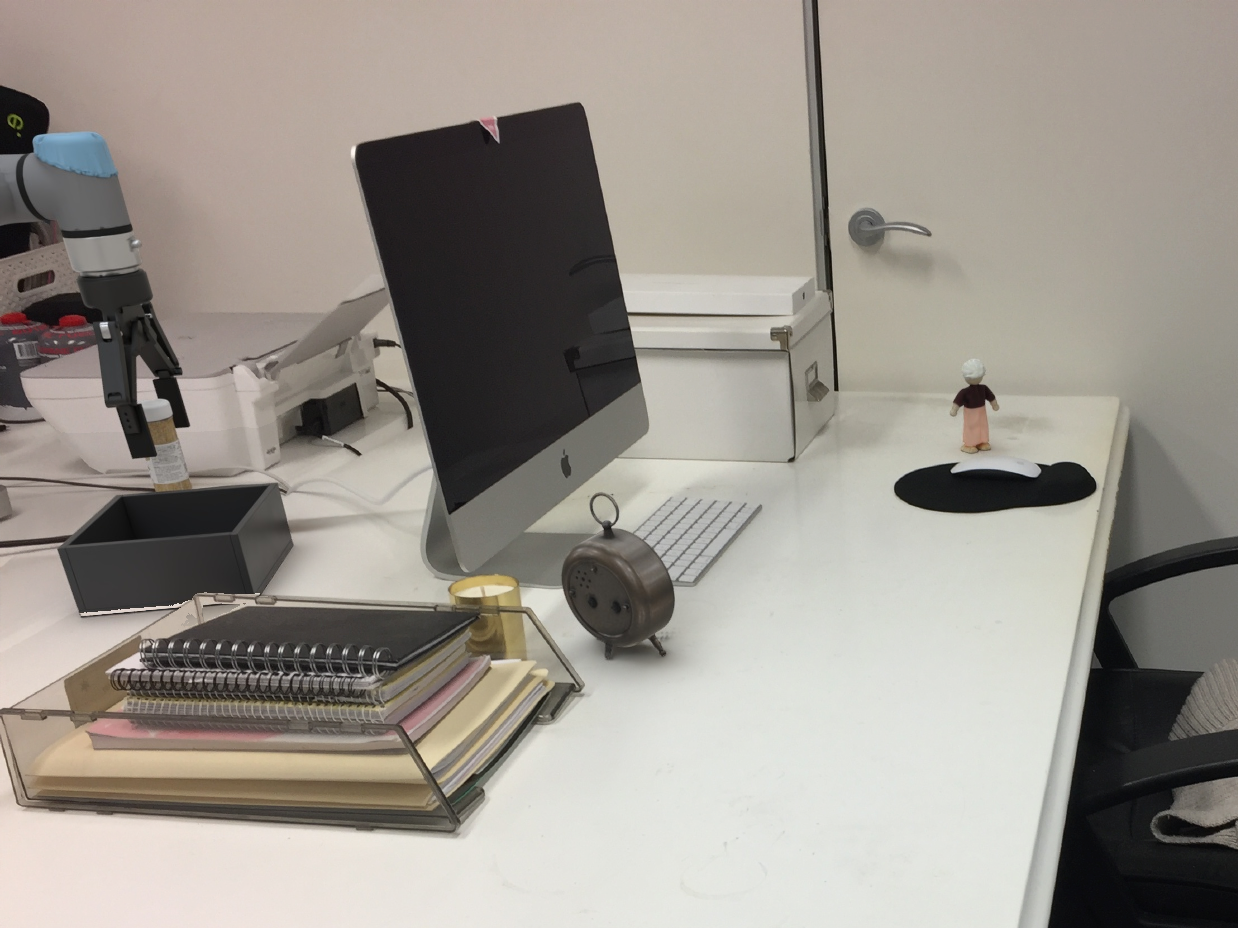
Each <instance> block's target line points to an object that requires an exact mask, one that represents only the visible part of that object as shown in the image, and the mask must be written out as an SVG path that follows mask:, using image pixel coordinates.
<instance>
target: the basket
mask: <svg viewBox="0 0 1238 928" xmlns="http://www.w3.org/2000/svg"><path fill="white" fill-rule="evenodd" d="M283 501H284V500H283V497H282V494H281V489H280V486H279V483H278V482H267V483H266V482H265V483H255V484H254V483H253V484H242V485H241V484H240V485H226V486H215V487H213V486H212V487H202V488H192V489H187V490H174V491H162V492H156V491H151V492H136V493H124V494H115V495H114V497H112V499H110V500H109V501H108V502H107V503H106V504H104V506H103V507H101V509H99V510H98V511H97V512H96V513H95V514H93V516H91V518H89V519H88V520H87V521H85V523H84V524H83V525H82V526H81V527H79V528H78V529H77V530H76V531H75V532H73V534H72V535H71V536H69V537H68V538H67V539H66V540H65V541H64V542H63V543H62V544H61V545H59V546H58V547H57V548H56V549H57V553H58V556H59V558H60V561H61V565H62V567H63V571H64V573H65V577H66V580H67V583H68V585H69V588H70V591H71V594H72V596H73V599H74V602H75V605H76V608H77V611H78V614H79V613H84V612H86V613H87V612H98V611H111V610H118V609H120V610H121V609H130V608H144V607H156V606H169V605H170V606H171V605H172V606H173V605H174V604H177V603H179V604H182V603H183V602H185V601H188V600H192V598H193V596H194V595H195V594H197V593H204V592H207V593H224V594H255V593H261V594H262V593H264V591H265V589H266V587H267V586H268V584H269V583H270V581H271V580H272V579H273V577H274V575H275V574H276V572H277V571H278V569H279V567H280V566H281V565H282V564H283V562H284V560H285V559H286V557H287V556H288V554H289V553H290V551H291V550H292V548H293V546H294V545H295V544H294V540H293V537H292V532H291V529H290V524H289V521H288V516H287V513H286V510H285V505H284V502H283ZM266 585H267V586H266Z"/></svg>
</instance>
